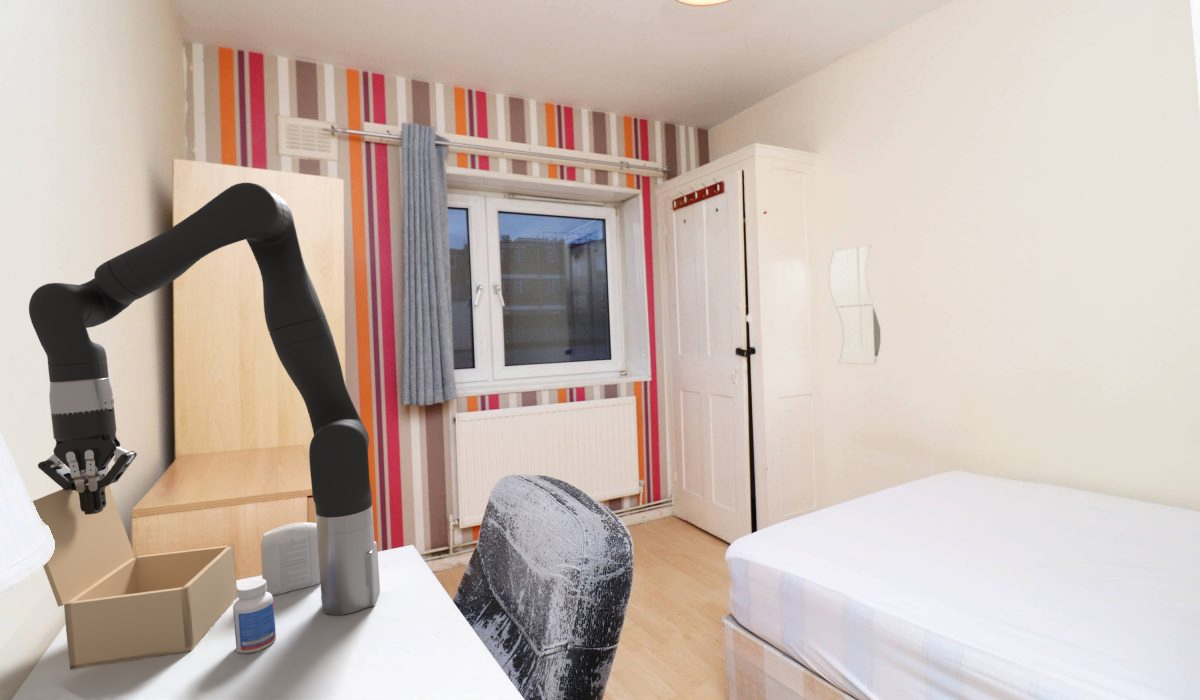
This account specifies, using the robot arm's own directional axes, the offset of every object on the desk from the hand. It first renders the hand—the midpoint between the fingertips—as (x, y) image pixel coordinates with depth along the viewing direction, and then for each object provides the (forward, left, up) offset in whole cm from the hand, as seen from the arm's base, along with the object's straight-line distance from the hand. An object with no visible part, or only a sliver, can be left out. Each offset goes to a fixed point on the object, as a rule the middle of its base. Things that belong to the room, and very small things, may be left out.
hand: (94, 512), depth 91 cm
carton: (-8, 0, -21) cm, 23 cm away
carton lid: (+1, 0, -3) cm, 3 cm away
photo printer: (-26, -10, -21) cm, 35 cm away
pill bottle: (-26, +10, -21) cm, 35 cm away
